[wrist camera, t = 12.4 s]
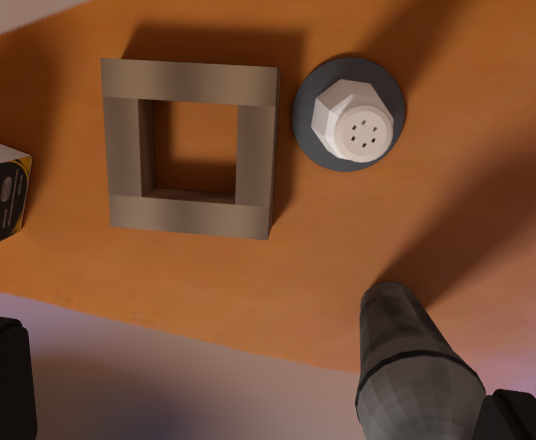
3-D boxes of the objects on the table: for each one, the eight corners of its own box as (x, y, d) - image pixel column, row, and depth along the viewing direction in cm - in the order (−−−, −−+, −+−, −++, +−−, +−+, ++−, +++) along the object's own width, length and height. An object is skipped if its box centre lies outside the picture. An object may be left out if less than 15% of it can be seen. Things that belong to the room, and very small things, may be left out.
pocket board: (280, 69, 31) (277, 67, 28) (271, 227, 34) (267, 240, 31) (119, 60, 32) (100, 58, 29) (127, 215, 35) (110, 226, 32)
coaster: (411, 60, 30) (412, 60, 29) (394, 174, 32) (395, 175, 32) (295, 54, 30) (295, 54, 30) (288, 166, 33) (287, 167, 32)
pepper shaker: (402, 104, 30) (447, 113, 20) (357, 169, 32) (378, 209, 21) (337, 62, 30) (348, 50, 19) (295, 130, 31) (285, 152, 21)
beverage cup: (325, 298, 36) (335, 540, 17) (399, 248, 34) (506, 458, 15) (377, 359, 37) (442, 649, 18) (451, 314, 35) (613, 587, 16)
